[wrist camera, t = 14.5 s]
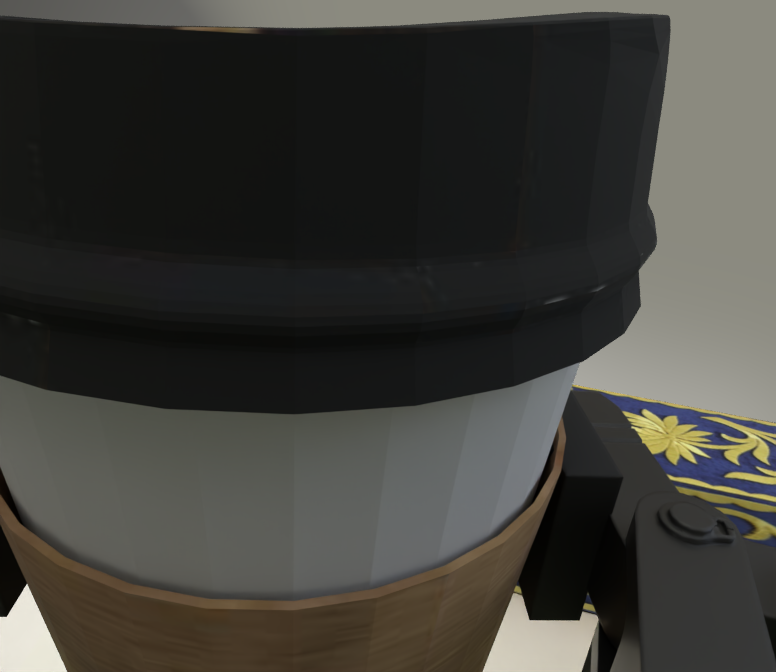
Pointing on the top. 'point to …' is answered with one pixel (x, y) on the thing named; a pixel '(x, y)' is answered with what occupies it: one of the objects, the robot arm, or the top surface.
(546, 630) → the top surface
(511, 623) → the top surface
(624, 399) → the decorative box
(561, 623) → the top surface
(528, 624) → the top surface
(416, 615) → the coffee cup
